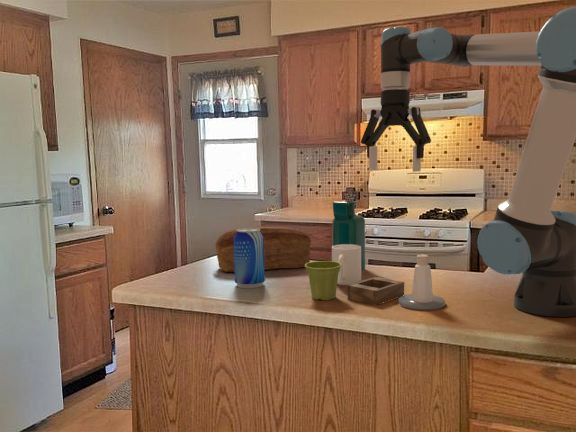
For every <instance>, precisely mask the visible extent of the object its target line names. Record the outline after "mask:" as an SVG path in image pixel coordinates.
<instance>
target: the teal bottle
mask: <svg viewBox="0 0 576 432" xmlns="http://www.w3.org/2000/svg"><path fill="white" fill-rule="evenodd" d="M357 204H358V201H356V200H342V201H332V212H333V217H334V218H333V219H332V246H334V245H340V244H353V245H359V246H361V272H362V271H363V270H365V269H366V219H365V217H364V216H361V215H358V214H356V212H355V210H356V209H355V205H357Z"/></svg>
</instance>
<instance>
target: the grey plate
mask: <svg viewBox="0 0 576 432" xmlns="http://www.w3.org/2000/svg"><path fill="white" fill-rule="evenodd" d="M411 297H412V293H411V294H404V296H401V297H398V305H399V304H400V305H401V306H400V305H399V306H400V307H402V306H403V307H402V308H405V309H408V308H409V310H413V311H436V310H440V309H443V308H444V307H445V306H446V300H445V298H443V297H440V296H438V295H434V294H433V301H432V302H428V303H420V302H415V301H412V300H411Z"/></svg>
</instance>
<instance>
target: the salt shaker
mask: <svg viewBox="0 0 576 432" xmlns="http://www.w3.org/2000/svg"><path fill="white" fill-rule="evenodd" d="M429 257H430V256H429V255H427V254H417V255H416V264H415V266H414V269H413V270H414V272H413V279H412V280H413V281H412V290H411V294H412V297H411V300H412V301H415V302H420V303H428V302H432V301H433V295H434V293H433V282H432V269H431V265H429Z"/></svg>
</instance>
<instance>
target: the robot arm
mask: <svg viewBox="0 0 576 432" xmlns="http://www.w3.org/2000/svg"><path fill="white" fill-rule="evenodd" d="M380 59H381V60H380V89H382V90H381V92H380V105H381V109H380V110H379V109H374V108H373V109H371V110H370V118H369V121H368V122H367V125H366V128H365V130H364V132H363V135H362V137H361V140H360V143H361V144H362V145H365V146H366V157H367V159H368V165H369V166H368V170H369V171H377V170H378V146H377V145H376V143H378V141H379V139H380V138H381V136H383V134H384V133H385V131H386V129H387V128H389V127H391V126H393V127H395V126H401V127H402V128H403V129H404V130H405V132H406V133H407V135H408V136H409V137H410V139H411V141H413V143H414V145H412V172H415V173H416V172H421V171H422V169H421V167H422V164H421V163H422V159H423V158H424V157H425V155H424V151H425V145H427V144H430V143H431V142H432V139H431V137H430V134H429V132H428V129H427V127H426V124H425V123H424V120H423V117H422V115H421V113H422V112H421V108H420V107H417V106H412V107H411V108H410V101H411V99H410V98H411V97H410V90H409V88H411V87H410V86H411V65H414V64H421V63H429V64H430V63H433V64H442V65H450V66H457V67H463V68H464V67H472V66H493V67H494V66H499V67H500V66H501V67H502V66H504V67H505V66H507V67H511V66H512V67H518V66H519V67H520V66H521V67H540V68H539V72H538V75H537V78H538V80H539V81H540V83H541V85H542V90H541V92H540V96H539V98H538V102H537V106H536V107H535V108H536V109H535V112H534V115H533V118H532V121H531V123H530V124H531V125H530V127H529V132H528V134H527V138H526V141H525V144H524V148H523V150H522V153H521V157H520V160H519V162H518V167H517V170H516V172H515V173H516V174H515V176H514V179H513V181H512V186H511V189H510V192H509V196H508V198H507V199H506V200H505V201H502V202H499V204H498V205H497V207H496V208H497V209H496V210H495V211H496V212H495V215H494V218H493V220H491V221H489V222H487V223H486V224H484V225H483V226H482V228H481V229H480V230H479V232H478V235H477V249H478V253H479V255H481V258H482V260H483V263H484V264H485V265H486V266H487V267H488V268H489V269H490V270H492V271H493V272H495V273H497V274H500V275H501V274H502V275H520V274H521V278H520V279H519V282H518V285H517V286H516V289H515V292H514V295H513V307H514V308H516V309H517V310H519V311H522V312H525V313H528V314H533V315H538V316H544V317H556V318H569V317H570V318H571V317H576V212H573V211H563V210H553V209H552V207H553V205H554V202H555V199H556V196H557V193H558V190H559V188H560V184H561V182H562V180H563V176H564V173H565V170H566V168H567V164H568V163H569V162H568V161H569V159H570V157H571V153H572V150H573V148H574V144H575V141H576V6H571V7H570V6H569V7H568V8H564V9H562V10H560V11H558V12H557V13H555V14H554V15H552V17H550V18H549V19H548V20H547V21H546V22H545V24H544V25H543V26H542V28H541V29H540V30H539V31H523V32H522V31H521V32H520V31H519V32H499V33H498V32H497V33H496V32H495V33H480V34H476V33H475V34H457V33H450V31H448V30H447V28H445V27H444V26H443V27H442V26H438V27H429V28H426V29H423V30H417V31H414V32H411V29H410V28H409V27H407V26H394V27H388V28H385V29H384V30H383V31H382V34H381V41H380ZM409 116H411V118H412V121H413V123H414V126H415V127H414V126H413V124H412V122H411V120H410V119H409V118H408V117H409ZM380 117H381V119H380ZM379 119H380V121H379ZM378 122H379V123H378ZM377 124H378V125H377Z"/></svg>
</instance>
